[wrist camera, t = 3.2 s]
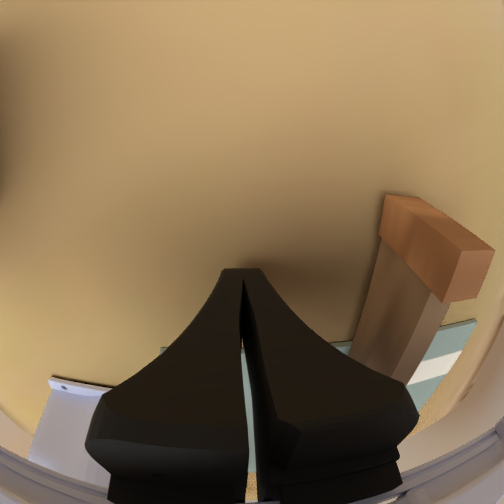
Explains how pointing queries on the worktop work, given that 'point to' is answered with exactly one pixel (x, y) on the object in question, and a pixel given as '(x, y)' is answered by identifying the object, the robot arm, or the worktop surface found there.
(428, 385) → the card
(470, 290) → the hinged fence panel
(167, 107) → the worktop surface
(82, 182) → the worktop surface
